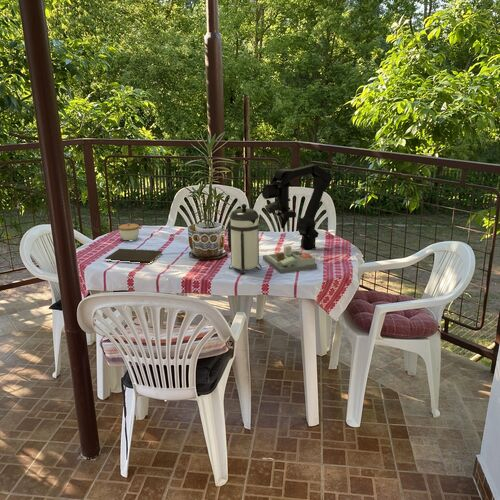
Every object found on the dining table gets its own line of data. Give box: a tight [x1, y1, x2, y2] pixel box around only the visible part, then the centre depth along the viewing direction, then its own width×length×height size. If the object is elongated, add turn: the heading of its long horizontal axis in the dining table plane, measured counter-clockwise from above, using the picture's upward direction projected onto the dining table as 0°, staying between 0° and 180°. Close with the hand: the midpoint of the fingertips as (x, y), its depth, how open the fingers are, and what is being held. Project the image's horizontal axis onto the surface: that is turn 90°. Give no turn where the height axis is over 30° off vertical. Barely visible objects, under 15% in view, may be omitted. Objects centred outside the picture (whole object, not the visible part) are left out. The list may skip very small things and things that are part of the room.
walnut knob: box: [275, 251, 284, 262], centre depth 236 cm, size 3×2×4 cm
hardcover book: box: [104, 248, 163, 263], centre depth 251 cm, size 16×23×2 cm
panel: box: [262, 250, 318, 275], centre depth 239 cm, size 18×21×5 cm
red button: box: [301, 253, 311, 259], centre depth 234 cm, size 4×4×4 cm
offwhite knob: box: [283, 245, 293, 256], centre depth 245 cm, size 3×2×4 cm
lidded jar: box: [118, 222, 140, 241], centre depth 280 cm, size 11×11×9 cm
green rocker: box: [280, 256, 295, 266], centre depth 230 cm, size 6×4×1 cm, turn 109°
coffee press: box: [227, 203, 263, 275], centre depth 230 cm, size 17×16×30 cm
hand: (282, 228), depth 250 cm, fingers closed
